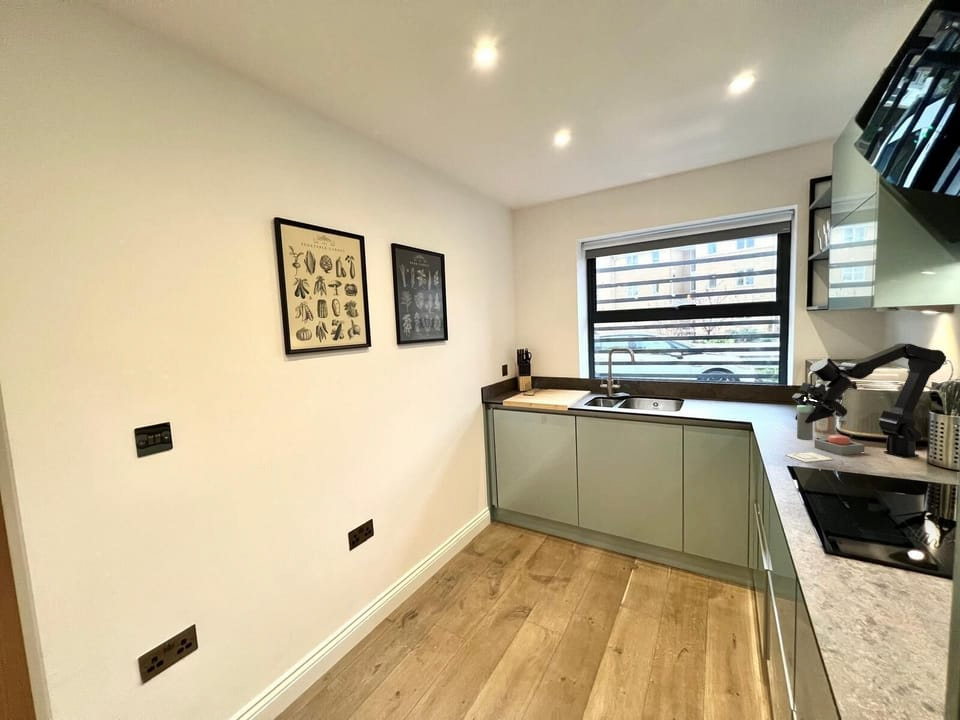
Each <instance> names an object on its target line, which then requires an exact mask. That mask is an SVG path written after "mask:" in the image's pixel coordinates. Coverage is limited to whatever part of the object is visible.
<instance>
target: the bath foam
mask: <svg viewBox="0 0 960 720" xmlns="http://www.w3.org/2000/svg"><path fill="white" fill-rule="evenodd" d="M833 415H834V416H833V417H827V418H824V419H820V420H817V421H814V422H813V426H814V427H813V436H814V437H813V438H815V437H816V438H815V439H817V438H819V439H828V438H829V435H837V417H838V416H836V412H834V413H833ZM819 439H818V440H819Z"/></svg>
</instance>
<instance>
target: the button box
mask: <svg viewBox="0 0 960 720" xmlns="http://www.w3.org/2000/svg"><path fill="white" fill-rule="evenodd" d="M815 447H817V448H816V449H819V450H822V449H823V451H825V452H829V453H832V452H833V454H837V455H840V456H843V455H854V453H856V454H862V453H861V452H864V453H865V444H863V443H859V442H854V441H851V440H850V445H841V446H840V445H837V444H833V443H829V442H828V439H814V448H815Z"/></svg>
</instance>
